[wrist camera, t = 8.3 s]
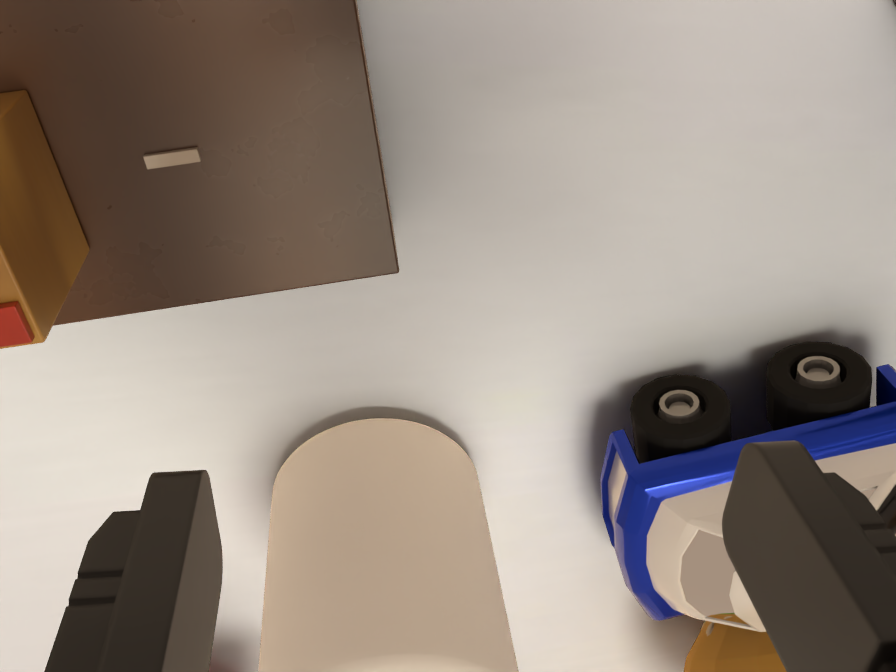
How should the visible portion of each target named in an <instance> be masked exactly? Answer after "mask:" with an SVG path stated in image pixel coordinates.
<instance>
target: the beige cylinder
mask: <svg viewBox="0 0 896 672" xmlns="http://www.w3.org/2000/svg"><path fill="white" fill-rule="evenodd" d="M258 672H519V671H518V667H517V662H516V657H515V652H514V648H513V643H512V638H511V633H510V628H509V624H508V619H507V614H506V609H505V604H504V600H503V595H502V590H501V585H500V580H499V576H498V571H497V566H496V561H495V557H494V552H493V547H492V542H491V537H490V533H489V528H488V523H487V518H486V513H485V509H484V504H483V499H482V494H481V490H480V485H479V480H478V476H477V472H476V469H475V467H474V465H473V463H472V461H471V459H470V458H469V456H468V455H467V454H466V452H465V451H464V450H463V449H462V448H461V447H460V446H459V445H458V444H457V443H456V442H455V441H453V440H452V439H451V438H449V437H448V436H446V435H445V434H443V433H441V432H439V431H438V430H436V429H433V428H431V427H429V426H426V425H423V424H420V423H416V422H412V421H407V420H401V419H392V418H373V419H363V420H357V421H352V422H348V423H344V424H341V425H337V426H335V427H332V428H329V429H327V430H325V431H323V432H321V433H319V434H317V435H315V436H313V437H312V438H310V439H309V440H307V441H306V442H305V443H303V444H302V445H301V446H299V447H298V448H297V449H296V450H295V451H294V452H293V453H292V454H291V455H290V456H289V457H288V459H287V460H286V461H285V463H284V464H283V465H282V467H281V469H280V470H279V472H278V474H277V477H276V479H275V482H274V486H273V491H272V502H271V514H270V527H269V540H268V553H267V566H266V579H265V592H264V605H263V617H262V630H261V643H260V656H259V669H258Z"/></svg>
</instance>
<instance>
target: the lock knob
mask: <svg viewBox="0 0 896 672" xmlns="http://www.w3.org/2000/svg"><path fill="white" fill-rule="evenodd" d="M88 252H89V246H88V244H87V241H86V239H85V236H84V234H83V231H82V229H81V226H80V224H79V221H78V219H77V216H76V214H75V211H74V209H73V206H72V204H71V201H70V199H69V196H68V194H67V191H66V189H65V186H64V183H63V181H62V178H61V176H60V173H59V171H58V168H57V166H56V163H55V161H54V158H53V156H52V153H51V151H50V148H49V146H48V143H47V141H46V138H45V136H44V133H43V131H42V128H41V126H40V123H39V120H38V118H37V115H36V113H35V110H34V108H33V105H32V103H31V100H30V98H29V95H28V93H27V91H26V90H21V91H13V92H6V93H0V349H2V348H8V347H15V346H22V345H28V344H35V343H42V342H44V341H45V340H46V338H47V336H48V334H49V332H50V330H51V328H52V326H53V324H54V322H55V320H56V318H57V316H58V313H59V311H60V309H61V307H62V305H63V303H64V301H65V299H66V297H67V295H68V293H69V291H70V289H71V287H72V285H73V283H74V281H75V279H76V277H77V275H78V273H79V271H80V269H81V267H82V265H83V263H84V261H85V259H86V257H87V254H88Z"/></svg>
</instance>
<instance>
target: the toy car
mask: <svg viewBox="0 0 896 672" xmlns="http://www.w3.org/2000/svg"><path fill="white" fill-rule="evenodd" d="M871 385H872V372H871V367H870V365H869V364H868V363H867V362H866V360H865V359H864V358H863V356H861V355H860V354H858V353H856V352H854V351H853V350H851V349H849V348H848V347H844V346H840V345H836V344H832V343H828V342H806V343H801V344H796V345H791V346H789V347H787V348H785V349H783V350H781V351H779V352H777V353H776V354H775V355H774V356H773V358H772V359H771V360H770V361H769V363H768V367H767V420H768V422H769V424H770V426H771V427H772V429H773V430H772V431H769V432H766V433H763V434H760V435H756V436H751V437H747V438H743V439H739V440H735V441H731V417H730V402H729V400H728V398H727V396H726V394H725V392H724V390H723V389H721V388H720V387H719V386H717V385H716V384H715V383H713V382H712V381H710V380H707V379H703V378H700V377H697V376H691V375H672V376H667V377H662V378H658V379H656V380H654V381H652V382H650V383H648V384H646V385H644V386H643V387H642V388H641V389H640V390H639V391H638V392H637V393H636V394H635V395H634V397H633V400H632V404H631V408H630V412H631V420H632V427H633V435H634V443H635V451H636V453H635V451H634V449H633V447H632V445H631V443H630V441H629V439H628V437H627V435H626V433H625V431H624V429H622V430H618V431H614V432H612V433H611V434H610V435H609V440H608V445H607V449H606V454H605V458H604V463H603V467H602V472H601V477H600V484H601V501H602V514H603V518H604V521H605V524H606V528H607V531H608V534H609V537H610V541H611V544H612V546H613V547H614V548H615V552H616V555H617V558H618V561H619V565H620V568H621V571H622V575H623V578H624V581H625V584H626V586H627V588H628V589H629V590H630V592H631V593H632V594H633V596H634V597H635V599H636V600H637V601H638V603H639V604H640V605H641V607H642V608H643V610H644V611H645V612H646V614H647V615H648V616H649V617H650V618H652V619H653V620H665V619H669V618H673V617H678V616H682V615H688V616H690V617H693V618H695V619H700V620H705V621H710V622H715V623H719V624H724V625H729V626H734V627H739V628H744V629H749V630H754V631H758V632H766V630H765V628H764V626H763V624H762V622H761V620H760V618H759V616H758V614H757V612H756V610H755V608H754V606H753V604H752V602H751V600H750V598H749V596H748V594H747V592H746V590H745V588H744V586H743V584H742V582H741V580H740V578H739V576H738V574H737V572H736V570H735V568H734V566H733V564H732V562H731V560H730V558H729V556H728V554H727V551H726V548H725V545H724V540H723V534H722V517H723V512H724V508H725V505H726V501H727V498H728V494H729V491H730V487H731V483H732V480H733V476H734V473H735V469H736V466H737V462H738V459H739V455H740V452H741V450H742V448H743V447H744V445H746V444H747V443H755V442H774V441H793V440H795V441H798V442H800V443H801V444H803V445H804V447H805V448H806V449H807V450H808V452H809V453H810V455H811V456H812V458H813V459H814V460H815V462H816V463H817V465H818V466H819V468H820V469H821V470H822V472H823V473H831V472H835V473H836V474H838V475H839V476H840V477H842V478H843V479H844V480H846V481H847V482H848V483H850V484H851V485H852V486H854V487H855V488H856V489H857V490H859V491H860V492H861V493H863V494H864V495H865V496H866V497H867V498H868V500H869V501H870V502H871V504H872V505H873V506H874V508H875V509H876V510H877V512H878V513H879V515H880V516H881V517H882V519H883V520H884V521H885V523H886V528H887V529H891V531H892V532H893V533H894V535H895V536H896V370H895V369H894V368H893V367H892V366H890V365H889V364H887V365H883V366H879V367H876V406H875V407H871V408H869V406H870V396H871ZM636 454H637V455H636Z"/></svg>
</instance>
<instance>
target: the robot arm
mask: <svg viewBox="0 0 896 672" xmlns="http://www.w3.org/2000/svg"><path fill="white" fill-rule="evenodd" d="M722 534H723V540H724V545H725V548H726V551H727V554H728V556H729V558H730V560H731V562H732V564H733V566H734V568H735V570H736V572H737V574H738V576H739V578H740V580H741V582H742V584H743V586H744V588H745V590H746V592H747V594H748V596H749V598H750V600H751V602H752V604H753V606H754V608H755V610H756V612H757V614H758V616H759V618H760V620H761V622H762V624H763V626H764V628H765V630H766V632H767V634H768V636H769V638H770V640H771V642H772V644H773V646H774V648H775V650H776V652H777V654H778V656H779V658H780V660H781V662H782V664H783V666H784V668H785V669H786V671H787V672H896V536H895V535H894V533H893V532H892V531H891V529H887V528H886V523H885V521H884V520H883V519H882V517H881V516H880V515H879V513H878V512H877V510H876V509H875V508H874V506H873V505H872V504H871V502H870V501H869V500H868V498H867V497H866V496H865V495H864V494H863V493H861V492H860V491H859V490H857V489H856V488H855V487H854V486H852V485H851V484H850V483H848V482H847V481H846V480H844V479H843V478H842V477H840V476H839V475H838V474H836V473H835V472H831V473H823V472H822V470H821V469H820V468H819V466H818V465H817V463H816V462H815V460H814V459H813V458H812V456H811V455H810V453H809V452H808V450H807V449H806V448H805V447H804V445H803V444H801V443H800V442H798V441H795V440H793V441H774V442H755V443H747V444H746V445H744V447H743V448H742V450H741V452H740V455H739V459H738V462H737V466H736V469H735V473H734V476H733V480H732V483H731V487H730V491H729V494H728V498H727V501H726V505H725V508H724V512H723V517H722ZM222 568H223V566H222V546H221V539H220V534H219V528H218V523H217V517H216V511H215V506H214V500H213V495H212V489H211V483H210V478H209V475H208V472H207V471H206V470H195V471H176V472H157V473H152V475H151V476H150V478H149V481H148V485H147V488H146V492H145V495H144V499H143V503H142V506H141V510H137V511H120V512H113V513H112V514H111V515H110V516H109V518H108V519H107V520H106V521H105V522H104V523H103V525H102V526H101V527H100V528H99V529H98V530H97V532H96V533H95V534H94V535H93V536H92V537H91V538H90V540H89V541H88V544H87V547H86V550H85V553H84V556H83V559H82V562H81V565H80V568H79V571H78V579H76V580H75V582H74V585H73V588H72V591H71V594H70V597H69V606H67V607H66V609H65V612H64V615H63V618H62V621H61V624H60V627H59V630H58V633H57V636H56V639H55V642H54V645H53V648H52V651H51V654H50V657H49V660H48V663H47V666H46V669H45V672H209V665H210V658H211V652H212V645H213V639H214V632H215V625H216V619H217V612H218V606H219V599H220V592H221V585H222Z"/></svg>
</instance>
